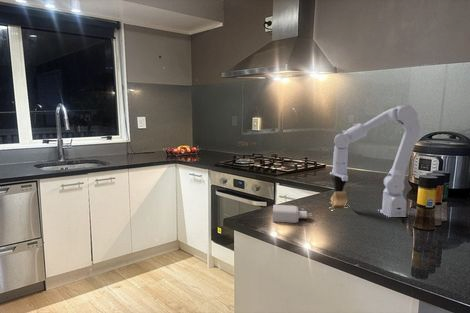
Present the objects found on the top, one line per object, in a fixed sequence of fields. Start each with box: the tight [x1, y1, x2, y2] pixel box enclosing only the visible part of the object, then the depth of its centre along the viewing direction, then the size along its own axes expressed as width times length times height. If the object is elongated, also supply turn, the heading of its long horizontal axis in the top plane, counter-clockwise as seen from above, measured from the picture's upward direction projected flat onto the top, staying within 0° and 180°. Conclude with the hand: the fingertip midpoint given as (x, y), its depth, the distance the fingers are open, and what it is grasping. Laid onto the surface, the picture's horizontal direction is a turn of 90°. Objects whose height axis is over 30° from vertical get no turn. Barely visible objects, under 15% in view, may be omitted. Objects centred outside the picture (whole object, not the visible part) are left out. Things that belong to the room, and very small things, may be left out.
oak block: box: [330, 190, 349, 207], centre depth 137 cm, size 4×4×7 cm
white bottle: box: [272, 204, 313, 224], centre depth 126 cm, size 5×9×15 cm
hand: (338, 194), depth 138 cm, fingers closed
